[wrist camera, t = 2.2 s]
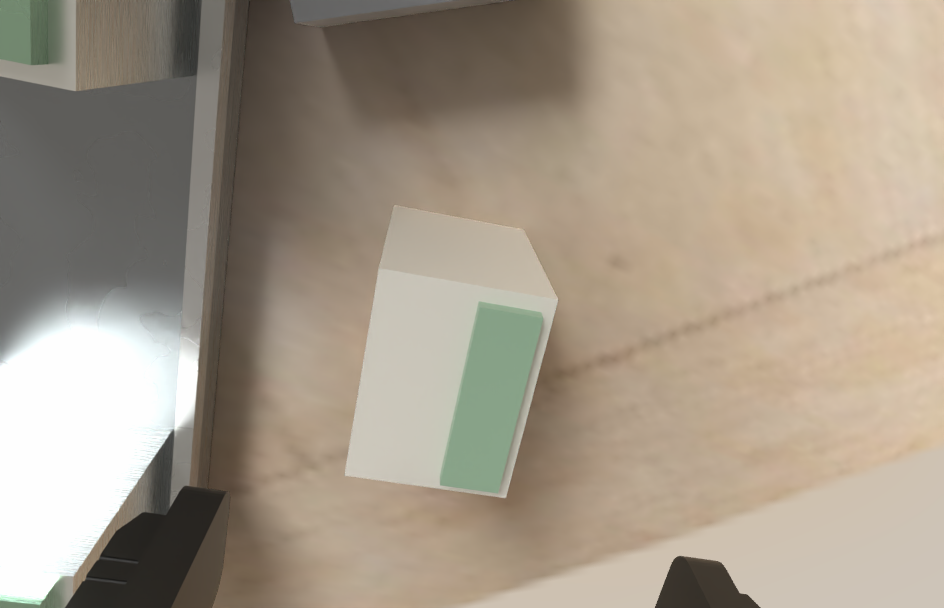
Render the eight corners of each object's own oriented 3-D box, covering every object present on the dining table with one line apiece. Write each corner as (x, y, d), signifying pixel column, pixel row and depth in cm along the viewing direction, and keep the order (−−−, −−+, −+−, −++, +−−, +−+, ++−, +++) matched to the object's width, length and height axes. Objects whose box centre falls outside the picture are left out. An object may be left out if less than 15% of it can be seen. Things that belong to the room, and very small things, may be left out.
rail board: (-83, -223, 18) (-535, -457, 10) (260, -139, 19) (125, -284, 11) (-37, 512, 26) (-262, 737, 18) (202, 543, 27) (99, 767, 19)
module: (394, 204, 23) (377, 273, 16) (523, 228, 24) (561, 305, 17) (367, 363, 25) (342, 484, 18) (486, 382, 26) (507, 507, 19)
